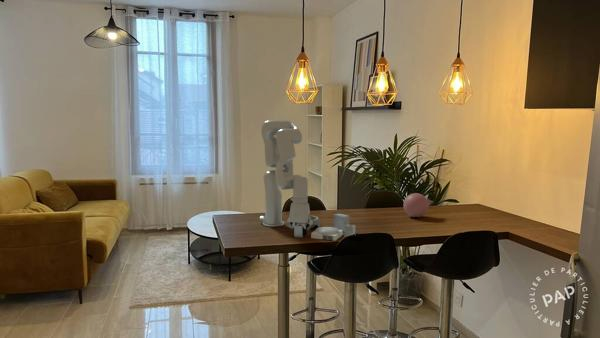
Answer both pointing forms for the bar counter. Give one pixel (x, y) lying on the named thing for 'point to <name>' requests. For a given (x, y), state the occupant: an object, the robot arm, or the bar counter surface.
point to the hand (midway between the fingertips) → (299, 235)
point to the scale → (327, 233)
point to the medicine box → (341, 221)
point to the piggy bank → (416, 205)
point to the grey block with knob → (298, 230)
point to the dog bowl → (315, 222)
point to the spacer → (349, 230)
